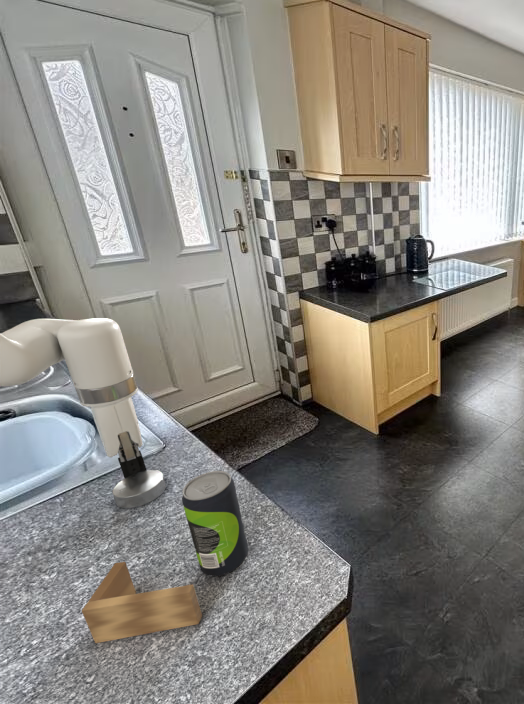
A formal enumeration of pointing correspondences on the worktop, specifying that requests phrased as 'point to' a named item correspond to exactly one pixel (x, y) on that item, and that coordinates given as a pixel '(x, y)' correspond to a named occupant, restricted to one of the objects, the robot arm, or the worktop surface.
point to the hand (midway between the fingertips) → (135, 473)
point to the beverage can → (215, 522)
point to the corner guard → (137, 608)
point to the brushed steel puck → (139, 489)
